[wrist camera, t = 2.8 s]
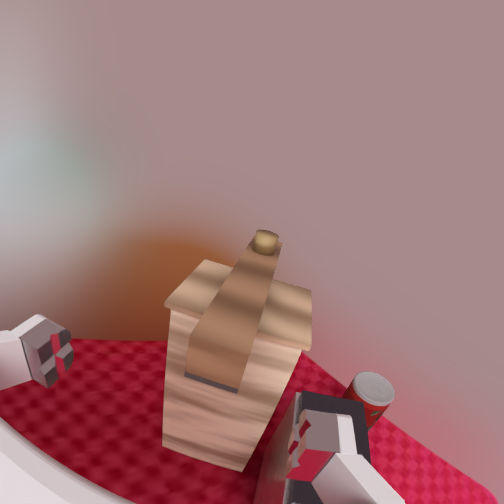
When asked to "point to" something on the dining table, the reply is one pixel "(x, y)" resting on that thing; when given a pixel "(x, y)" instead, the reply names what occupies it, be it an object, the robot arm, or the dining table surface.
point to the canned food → (371, 394)
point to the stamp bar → (233, 317)
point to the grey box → (276, 455)
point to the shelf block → (254, 378)
